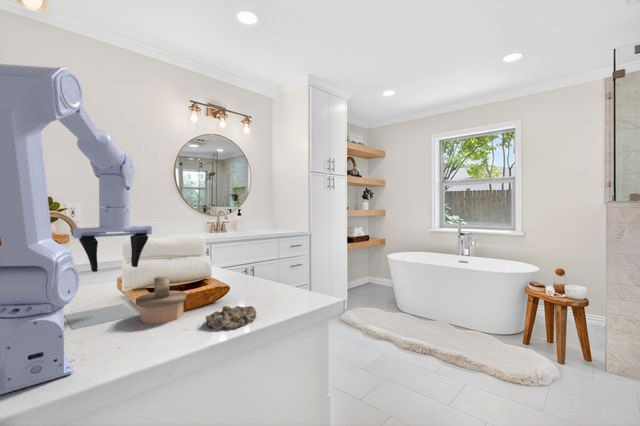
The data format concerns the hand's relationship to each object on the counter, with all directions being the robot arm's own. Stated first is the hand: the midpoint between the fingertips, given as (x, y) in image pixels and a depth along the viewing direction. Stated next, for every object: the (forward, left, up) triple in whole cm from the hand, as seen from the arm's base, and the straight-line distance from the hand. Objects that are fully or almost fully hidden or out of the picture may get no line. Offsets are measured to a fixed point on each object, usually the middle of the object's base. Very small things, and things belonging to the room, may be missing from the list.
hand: (115, 268), depth 70 cm
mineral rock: (-23, -16, -10) cm, 30 cm away
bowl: (-11, -6, -10) cm, 16 cm away
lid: (-11, -6, -6) cm, 14 cm away
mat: (-1, +3, -10) cm, 10 cm away
